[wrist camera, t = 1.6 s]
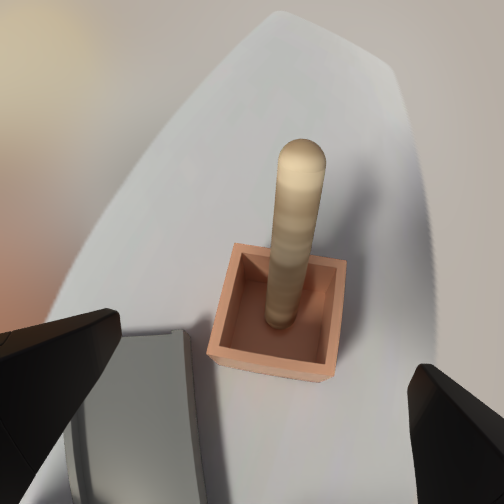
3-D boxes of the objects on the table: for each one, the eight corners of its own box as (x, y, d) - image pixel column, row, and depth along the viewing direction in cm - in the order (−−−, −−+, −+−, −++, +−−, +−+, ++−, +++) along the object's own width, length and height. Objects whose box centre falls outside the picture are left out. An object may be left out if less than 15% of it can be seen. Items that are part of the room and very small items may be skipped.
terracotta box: (319, 382, 20) (334, 376, 16) (218, 365, 21) (206, 353, 17) (332, 289, 23) (346, 260, 19) (240, 274, 24) (234, 242, 20)
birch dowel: (292, 335, 21) (321, 243, 10) (261, 330, 22) (257, 233, 11) (304, 261, 24) (329, 133, 13) (276, 256, 24) (282, 126, 13)
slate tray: (217, 556, 14) (212, 568, 12) (97, 540, 14) (84, 547, 12) (190, 336, 22) (182, 329, 20) (76, 341, 22) (62, 335, 20)
